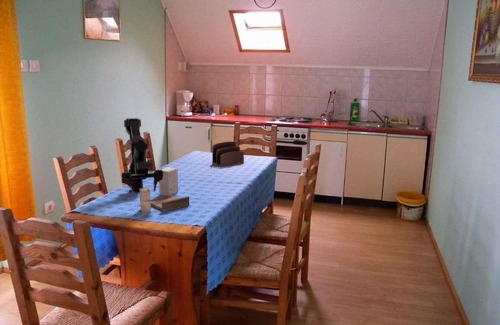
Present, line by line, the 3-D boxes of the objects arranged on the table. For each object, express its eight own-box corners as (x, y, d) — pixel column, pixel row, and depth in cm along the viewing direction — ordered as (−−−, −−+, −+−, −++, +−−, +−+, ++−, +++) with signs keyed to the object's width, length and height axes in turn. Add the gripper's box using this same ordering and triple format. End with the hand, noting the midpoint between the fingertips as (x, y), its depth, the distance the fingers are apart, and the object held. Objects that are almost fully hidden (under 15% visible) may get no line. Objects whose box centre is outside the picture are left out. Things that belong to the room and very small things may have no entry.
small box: (168, 190, 226) (168, 166, 223) (178, 192, 223) (178, 168, 220) (159, 194, 219) (158, 170, 216) (169, 196, 216) (168, 171, 213)
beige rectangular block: (140, 209, 197) (139, 188, 195) (149, 208, 199) (148, 187, 196) (141, 212, 193) (140, 191, 190) (150, 211, 194) (149, 190, 192)
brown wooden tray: (146, 203, 206) (145, 194, 205) (170, 197, 215) (170, 189, 214) (163, 211, 194) (163, 203, 193) (189, 205, 204) (189, 196, 203)
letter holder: (212, 163, 287) (211, 143, 283) (235, 160, 299) (235, 140, 296) (220, 166, 279) (220, 145, 276) (244, 162, 292) (244, 142, 288)
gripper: (120, 155, 192) (123, 185, 185) (161, 152, 199) (166, 181, 191) (120, 168, 201) (123, 197, 194) (159, 165, 208) (164, 193, 200)
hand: (144, 192), depth 194 cm, fingers open, 9 cm apart
